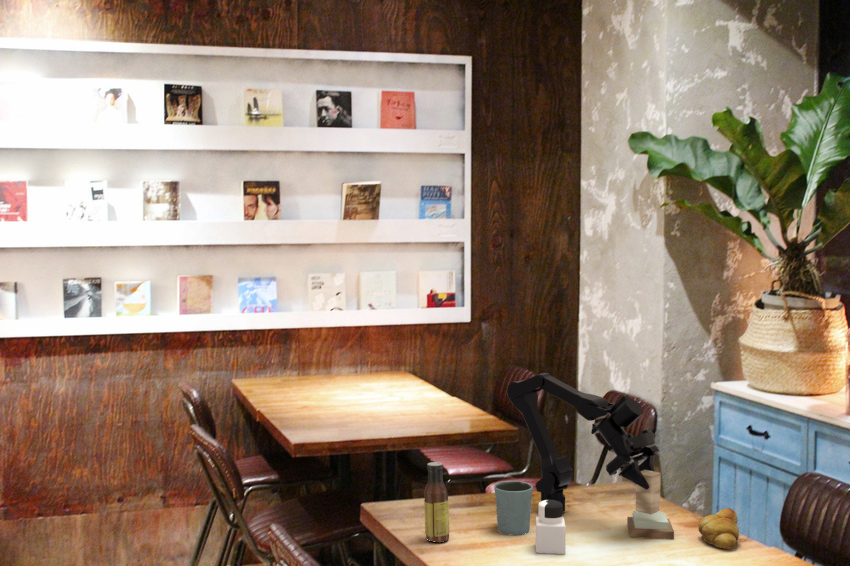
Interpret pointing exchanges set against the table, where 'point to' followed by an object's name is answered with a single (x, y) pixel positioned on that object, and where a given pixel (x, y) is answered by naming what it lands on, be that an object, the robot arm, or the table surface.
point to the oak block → (649, 493)
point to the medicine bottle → (550, 528)
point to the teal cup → (513, 506)
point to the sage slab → (650, 520)
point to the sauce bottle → (436, 505)
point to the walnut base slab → (649, 531)
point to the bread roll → (720, 528)
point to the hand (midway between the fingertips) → (652, 486)
